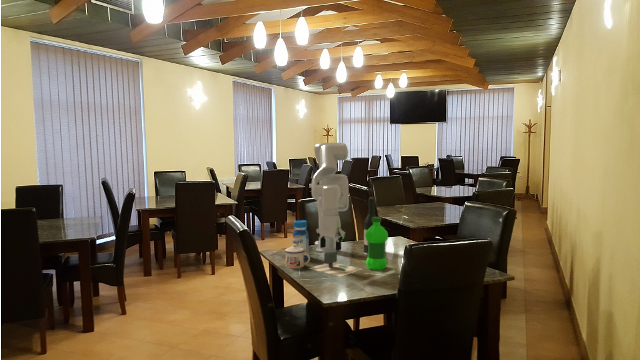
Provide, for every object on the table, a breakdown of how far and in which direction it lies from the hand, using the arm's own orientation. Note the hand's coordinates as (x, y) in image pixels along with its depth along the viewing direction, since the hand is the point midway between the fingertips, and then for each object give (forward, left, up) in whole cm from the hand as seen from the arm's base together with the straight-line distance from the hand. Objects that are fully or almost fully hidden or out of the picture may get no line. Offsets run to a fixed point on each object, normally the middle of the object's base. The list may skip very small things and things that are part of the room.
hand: (330, 248), depth 215 cm
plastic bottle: (+16, +14, -11) cm, 24 cm away
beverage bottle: (-25, +5, -11) cm, 28 cm away
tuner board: (+3, 0, -10) cm, 11 cm away
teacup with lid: (-14, -8, -11) cm, 19 cm away
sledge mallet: (+3, 0, -9) cm, 10 cm away
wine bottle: (-8, +43, -11) cm, 45 cm away
